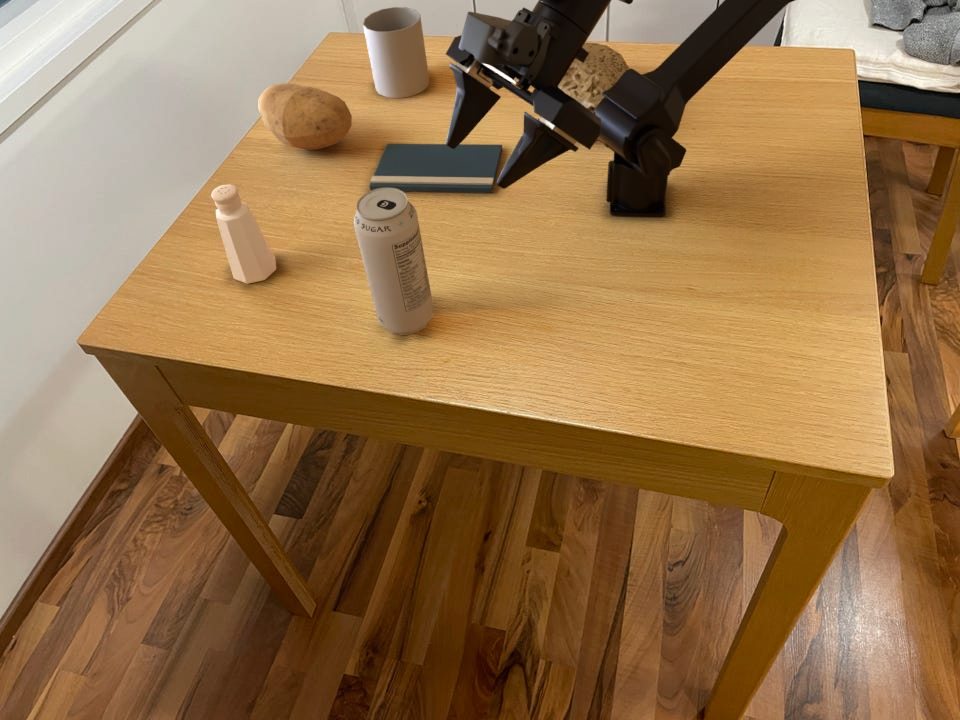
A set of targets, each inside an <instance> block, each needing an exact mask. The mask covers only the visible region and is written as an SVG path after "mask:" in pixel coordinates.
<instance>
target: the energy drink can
mask: <svg viewBox="0 0 960 720" xmlns="http://www.w3.org/2000/svg"><path fill="white" fill-rule="evenodd" d="M355 207H356V212H355V215H354V219H353V227H354V231H355V236H356V238H357V243H358V247H359V251H360V254H361V259H362V262H363V266H364V271H365V274H366V278H367V282H368V286H369V290H370V294H371V297H372V301H373V306H374V310H375V314H376V317H377V321H378V322H379V324H380V325H381V326H382V327H383V328H384V329H386V330H388V331H389V332H390V333H392V334H394V335H400V336H408V335H413V334H416V333H418V332H420V331H422V330H423V329H424V328H426V326H428V324H429V321H430V320H431V319H432V318H433V315H434V313H435V312H434V309H435V308H434V302H433V297H432V289H431V285H430V279H429V274H428V269H427V268H428V267H427V263H426V257H425V251H424V245H423V240H422V234H421V228H420V222H419V218H418V212H417V208H416V207H415V206H414V205H413V204H412V203H411V202H410V201H409V198H408V196H407V194H406V193H405V191H401V190H399V189H395V188H378V189H375V190H372V191H371V190H369V191H368V192H366V193H363V194H362V195H361V196H360V197H359V199H357V202H356V205H355Z"/></svg>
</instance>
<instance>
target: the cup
mask: <svg viewBox="0 0 960 720" xmlns="http://www.w3.org/2000/svg"><path fill="white" fill-rule="evenodd" d="M362 27H363V33H364V37H365V43H366V47H367V52H368V58H369V62H370V67H371V72H372V78H373V83H374V88H375V91H376V92H377V93H378V94H379V95H381V96H383V97H385V98H390V99H404V98H408V97H409V98H410V97H413V96H416V95H417V94H420V93H422V92H424V91H425V90H426V89H427V88H428V87H429V85H430V73H429V68H428V60H427V53H426V47H425V39H424V31H423V23H422V16H421V14H420V12H419V11H418V10H416V9H414V8H411V7H407V6H405V7H404V6H392V7H387V8H381V9H379V10H376V11H374V12H371V13H369V14H368V15H367V16H366V17H365V18H364V19H363V22H362Z"/></svg>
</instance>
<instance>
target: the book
mask: <svg viewBox="0 0 960 720" xmlns="http://www.w3.org/2000/svg"><path fill="white" fill-rule="evenodd" d="M502 154H503V144H481V143H479V144H475V143H473V144H471V143H470V144H469V143H467V144H466V143H464V144H462V143H460V144H459V145H458V146H457V147H456V148H455V149H452V148H450V147H448V146H447V145H446V143H387V144H386V146H385V148H384V151H383V153H382V155H381V158H380V160H379V162H378V165H377V167H376V170H375V172H374V174H373V175H372V176H371V178H370V181H369V183H370V184H369V191H372V190H375V189H378V188H395V189H399V190H401V191H403V192H411V193H412V192H414V193H415V192H418V193H422V192H423V193H465V194H466V193H469V194H471V193H472V194H493V191H494V186H495V183H496V178H497V174H498V171H499V166H500V163H501V157H502Z"/></svg>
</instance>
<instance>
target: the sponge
mask: <svg viewBox="0 0 960 720" xmlns="http://www.w3.org/2000/svg"><path fill="white" fill-rule="evenodd" d="M582 48H584V49H585V50H586V51H587V52H588V53H589V55H588V56H587V58H586V59H585V61H584V63H582V62H580V61H578V60H577V59H575V60H574V61H573V63H572V64H571V66H570V68H569V69H568V71H567V72H566V74H565V76H564V77H563V79H562V80H561V82H560V84H559V85H558V88H560V89H561V90H562V91H564V92H565V93H566V94H567V95H569V96H571V97H572V98H574V99H575V100H577V101H578V102H579V103H581V104H582V105H583V106H585V107H586V108H587V109H588V110H590V111H591V112H592V113H594V111H595V109H596V107H597V105H598V104H599V103H600V102H601V100H602V99H603V98H604V96H603V95H602V93H603V92H604V91H606V90H608V89H610V88H611V87H612V86H613V85H614V84H615V83H616V82H617V81H618V80H619V78H620V77H621V76H622V75H623V73H624V72H626V71H627V70H629V69H630V68H631V67H630V66H629V65H628V64H627V61H626V60H625V59H624V57H623V55H622V53H619V52H618V51H616V50H615V49H613V48H611V47H610V46H608V45H606V44H600V43H597V42H585V44H584V45H583V47H582ZM597 140H598V141H599V142H601V143H603V141H602V140H601V139H600V138H599V137H598V138H597Z"/></svg>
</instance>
